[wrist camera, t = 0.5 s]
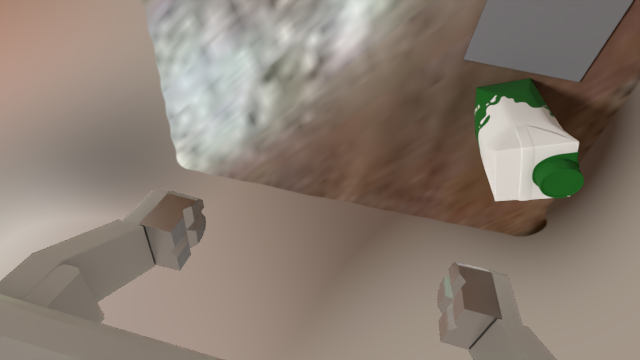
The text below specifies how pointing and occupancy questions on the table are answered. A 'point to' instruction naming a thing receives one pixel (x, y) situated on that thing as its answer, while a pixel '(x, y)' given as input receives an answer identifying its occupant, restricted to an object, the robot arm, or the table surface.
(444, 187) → the table surface
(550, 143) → the soya milk
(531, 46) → the mat
